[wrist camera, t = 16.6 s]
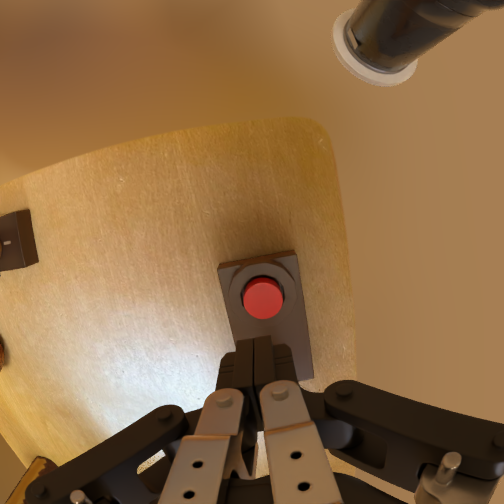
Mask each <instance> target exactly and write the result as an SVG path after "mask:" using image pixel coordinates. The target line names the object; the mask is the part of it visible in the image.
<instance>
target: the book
mask: <svg viewBox="0 0 504 504" xmlns="http://www.w3.org/2000/svg"><path fill="white" fill-rule="evenodd" d="M56 468H58V467H57V465H56V464H55V463H53V462H52V461H51V460H49V459H47V458H44V457H40V456H37V457H36V458H35V459H34V461H33V462H32V464H31V465H30V467H29V468H28V470H27V471H26V472H25V474H24V475H23V477H22V478H21V480H20V481H19V483H18V484H17V486H16V488H15V489H14V490H13V492H12V493H11V495H10V497H9V498H8V500H7V501H6V503H5V504H28V503H27V501H26V499H25V490H26V488H27V486H28V485H29V484H30V483H31V482H32V481H33V480H35V479H37V478H39V477H41V476H43V475H45V474H47V473H49V472H50V471H52V470H54V469H56Z"/></svg>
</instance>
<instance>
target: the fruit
mask: <svg viewBox="0 0 504 504" xmlns="http://www.w3.org/2000/svg"><path fill="white" fill-rule="evenodd" d="M3 363H4V351H3V347H2V345H1V343H0V372H1V369H2V367H3Z"/></svg>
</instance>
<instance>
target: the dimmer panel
mask: <svg viewBox="0 0 504 504" xmlns="http://www.w3.org/2000/svg"><path fill="white" fill-rule="evenodd" d="M0 241H1V246H2V253H1V257H0V272H1V271H7V270H13V269H19V268H25V267H28V266H30V265H33V264H35V263H38V262H39V260H38V256H37V251H36V246H35V241H34V235H33V229H32V223H31V217H30V210H23V211H16V212H13V213H10V214H7V215H4V216H1V217H0ZM0 276H1V275H0Z"/></svg>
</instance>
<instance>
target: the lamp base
mask: <svg viewBox="0 0 504 504" xmlns="http://www.w3.org/2000/svg"><path fill="white" fill-rule="evenodd" d="M217 271H218V275H219V280H220V284H221V288H222V293H223V297H224V301H225V305H226V310H227V314H228V318H229V322H230V326H231V330H232V334H233V338H234V342H235V346H236V343H237V340H242V339H249V338H255V337H260V336H266V335H271V336H272V341H273V345H278V344H283V343H285V344H286V345H288V346H289V347H290V348H291V351H292V356H293V361H294V365H295V370H296V375H297V380H298V381H303V380H308V379H312V378H314V371H313V363H312V355H311V348H310V340H309V333H308V326H307V318H306V311H305V305H304V298H303V291H302V285H301V278H300V272H299V266H298V260H297V254H296V253H295V251H294V250H292V251H286V252H281V253H276V254H271V255H265V256H260V257H255V258H249V259H244V260H239V261H233V262H228V263H223V264H219V267H218V269H217ZM260 277H266V278H270V279H272V280H274V281H275V282H276V283H277V284H278V285H279V287H280V289H281V293H282V297H283V304H282V307H281V309H280V311H279V312H278V313H277V314H276V315H274V316H273V317H271V318H267V319H258V318H255V317H253V316H251V315H250V314H249V313H248V312H247V311H246V309H245V307H244V303H243V299H244V291H245V288H246V286H247V285H248V283H250V282H251V281H252V280H254V279H256V278H260Z"/></svg>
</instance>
